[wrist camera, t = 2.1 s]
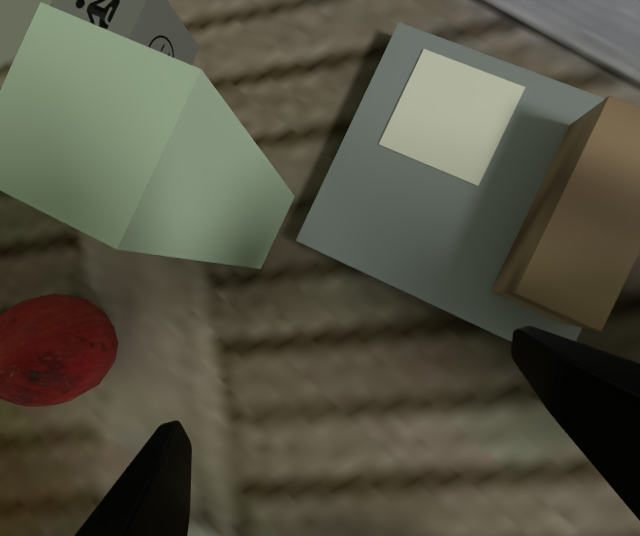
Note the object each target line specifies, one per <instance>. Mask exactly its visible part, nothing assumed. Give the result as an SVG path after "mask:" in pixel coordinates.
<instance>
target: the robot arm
mask: <svg viewBox="0 0 640 536" xmlns="http://www.w3.org/2000/svg"><path fill="white" fill-rule="evenodd" d="M511 355H512V358H513V360H514V362H515V363H516V365H517V366H518V368H519V369H520V371H521V372H522V374H523V375H524V377H525V378H526V379H527V381H528V382H529V384H530V385H531V387H532V388H533V390H534V391H535V393H536V394H537V396H538V397H539V398H540V400H541V401H542V403H543V404H544V406H545V407H546V408H547V410H548V411H549V412H550V414H551V415H552V416H553V417H554V419H555V420H556V421H557V422H558V423H559V425H560V426H561V427H562V428H563V429H564V431H565V432H566V433H567V434H568V435H569V437H570V438H571V439H572V440H573V441H574V443H575V444H576V445H577V446H578V447H579V449H580V450H581V451H582V452H583V453H584V455H585V456H586V457H587V458H588V459H589V461H590V462H591V463H592V464H593V465H594V467H595V468H596V469H597V470H598V471H599V473H600V474H601V475H602V476H603V477H604V479H605V480H606V481H607V482H608V483H609V485H610V486H611V487H612V488H613V489H614V491H615V492H616V493H617V494H618V495H619V497H620V498H621V499H622V500H623V501H624V503H625V504H626V505H627V506H628V507H629V509H630V510H631V511H632V512H633V513H634V515H635V516H636V517H637V518H638V519H639V521H640V364H639V363H636V362H633V361H630V360H628V359H625V358H622V357H619V356H616V355H613V354H611V353H608V352H605V351H602V350H599V349H596V348H593V347H591V346H588V345H585V344H582V343H579V342H576V341H573V340H571V339H568V338H565V337H562V336H559V335H556V334H554V333H551V332H548V331H545V330H542V329H539V328H536V327H534V326H524V327H520V328H517V329H515V330H514V331H513V336H512V347H511ZM191 460H192V447H191V442H190V440H189V438H188V436H187V434H186V432H185V430H184V428H183V427H182V425H181V423H180V422H179V421H176V420H175V421H171V422H168V423H164V424H162V425H160V426H159V427H158V428H157V430H156V431H155V432H154V434H153V435H152V436H151V438H150V439H149V440H148V441H147V443H146V444H145V445H144V447H143V448H142V449H141V450H140V452H139V453H138V454H137V456H136V457H135V458H134V459H133V461H132V462H131V463H130V465H129V466H128V467H127V468H126V470H125V471H124V472H123V474H122V475H121V476H120V478H119V479H118V480H117V481H116V483H115V484H114V485H113V487H112V488H111V489H110V490H109V492H108V493H107V494H106V496H105V497H104V498H103V499H102V501H101V502H100V503H99V505H98V506H97V507H96V509H95V510H94V511H93V512H92V514H91V515H90V516H89V518H88V519H87V520H86V521H85V523H84V524H83V525H82V527H81V528H80V529H79V530H78V532H77V533H76V534H75V536H187V533H188V526H189V516H190V494H191Z"/></svg>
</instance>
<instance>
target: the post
mask: <svg viewBox="0 0 640 536" xmlns="http://www.w3.org/2000/svg"><path fill="white" fill-rule="evenodd" d="M0 191H2V192H4V193H6V194H8V195H10V196H12V197H14V198H16V199H18V200H20V201H22V202H24V203H26V204H28V205H30V206H32V207H34V208H36V209H38V210H40V211H42V212H44V213H46V214H48V215H50V216H52V217H54V218H56V219H58V220H60V221H62V222H63V223H65V224H67V225H69V226H71V227H73V228H75V229H77V230H79V231H81V232H83V233H85V234H87V235H89V236H91V237H93V238H95V239H97V240H99V241H101V242H103V243H105V244H107V245H109V246H111V247H113V248H115V249H117V250H124V251H131V252H139V253H146V254H153V255H161V256H168V257H175V258H183V259H190V260H197V261H205V262H212V263H220V264H227V265H234V266H242V267H249V268H256V269H261V268H262V265H263V263H264V261H265V259H266V257H267V255H268V253H269V251H270V248H271V246H272V244H273V242H274V240H275V238H276V236H277V234H278V231H279V229H280V227H281V225H282V223H283V221H284V219H285V217H286V214H287V212H288V210H289V208H290V206H291V204H292V202H293V200H294V197H295V196H294V195H293V193H292V192H291V191H290V189H289V188H288V186H287V185H286V184H285V182H284V181H283V180H282V178H281V177H280V176H279V174H278V173H277V172H276V170H275V169H274V167H273V166H272V165H271V163H270V162H269V161H268V159H267V158H266V157H265V155H264V154H263V153H262V151H261V150H260V148H259V147H258V146H257V144H256V143H255V142H254V140H253V139H252V138H251V136H250V135H249V134H248V132H247V131H246V129H245V128H244V127H243V125H242V124H241V123H240V121H239V120H238V119H237V117H236V116H235V115H234V113H233V112H232V110H231V109H230V108H229V106H228V105H227V104H226V102H225V101H224V100H223V98H222V97H221V96H220V94H219V93H218V91H217V90H216V89H215V87H214V86H213V85H212V83H211V82H210V81H209V79H208V78H207V77H206V75H205V74H204V72H203V71H202V70H201V69H199V68H197V67H195V66H192V65H190V64H187V63H185V62H183V61H180V60H178V59H175V58H173V57H171V56H168V55H166V54H164V53H161V52H159V51H156V50H154V49H152V48H149V47H147V46H144V45H142V44H140V43H137V42H135V41H132V40H130V39H128V38H125V37H123V36H120V35H118V34H116V33H113V32H111V31H109V30H106V29H104V28H101V27H99V26H97V25H94V24H92V23H89V22H87V21H85V20H82V19H80V18H77V17H75V16H73V15H70V14H68V13H65V12H63V11H61V10H58V9H56V8H54V7H51V6H49V5H46V4H44V3H42V2H41V3H40V5H39V7H38V10H37V12H36V14H35V16H34V18H33V20H32V23H31V25H30V27H29V29H28V31H27V33H26V35H25V38H24V40H23V42H22V44H21V47H20V49H19V51H18V53H17V55H16V57H15V59H14V62H13V64H12V66H11V68H10V70H9V72H8V75H7V77H6V79H5V81H4V83H3V85H2V88H1V90H0Z"/></svg>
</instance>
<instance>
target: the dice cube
mask: <svg viewBox="0 0 640 536" xmlns="http://www.w3.org/2000/svg"><path fill="white" fill-rule="evenodd" d="M50 6H51V7H54V8H56V9H58V10H61V11H63V12H65V13H68V14H70V15H73V16H75V17H77V18H80V19H82V20H85V21H87V22H89V23H92V24H94V25H97V26H99V27H101V28H104V29H106V30H109V31H111V32H113V33H116V34H118V35H120V36H123V37H125V38H128V39H130V40H132V41H135V42H137V43H140V44H142V45H144V46H147V47H149V48H152V49H154V50H156V51H159V52H161V53H164V54H166V55H168V56H171V57H173V58H175V59H178V60H180V61H183V62H185V63H187V64H190V65H191V64H192V62H193V60H194V58H195V56H196V53H197V51H198V49H199V47H198V45H197V44H196V42H195V41H194V39H193V38H192V36H191V35H190V33H189V32H188V30H187V29H186V27H185V26H184V24H183V23H182V22H181V20H180V19H179V17H178V16H177V14H176V13H175V11H174V10H173V8H172V7H171V5H170V4H169V2H168V1H167V0H52V2H51V5H50Z"/></svg>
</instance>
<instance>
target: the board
mask: <svg viewBox="0 0 640 536" xmlns="http://www.w3.org/2000/svg"><path fill="white" fill-rule="evenodd" d="M603 100H604V98H602V97H599V96H596V95H594V94H591V93H588V92H586V91H583V90H580V89H577V88H575V87H572V86H569V85H567V84H564V83H561V82H559V81H556V80H553V79H551V78H548V77H545V76H542V75H540V74H537V73H534V72H532V71H529V70H526V69H524V68H521V67H518V66H516V65H513V64H510V63H508V62H505V61H502V60H499V59H497V58H494V57H491V56H489V55H486V54H483V53H481V52H478V51H475V50H473V49H470V48H467V47H464V46H462V45H459V44H456V43H454V42H451V41H448V40H446V39H443V38H440V37H438V36H435V35H432V34H430V33H427V32H424V31H421V30H419V29H416V28H413V27H411V26H408V25H405V24H403V23H400V22H399V23H398V25H397V27H396V29H395V31H394V33H393V35H392V37H391V40H390V42H389V44H388V46H387V48H386V50H385V52H384V54H383V57H382V59H381V61H380V63H379V65H378V67H377V69H376V71H375V73H374V76H373V78H372V80H371V82H370V84H369V86H368V88H367V90H366V93H365V95H364V97H363V99H362V101H361V103H360V105H359V107H358V110H357V112H356V114H355V116H354V118H353V120H352V122H351V124H350V126H349V129H348V131H347V133H346V135H345V137H344V139H343V141H342V143H341V146H340V148H339V150H338V152H337V154H336V156H335V158H334V160H333V163H332V165H331V167H330V169H329V171H328V173H327V175H326V177H325V179H324V182H323V184H322V186H321V188H320V190H319V192H318V194H317V196H316V199H315V201H314V203H313V205H312V207H311V209H310V211H309V213H308V216H307V218H306V220H305V222H304V224H303V226H302V228H301V230H300V232H299V235H298V237H297V239H296V241H297V242H299V243H301V244H303V245H305V246H307V247H309V248H311V249H313V250H316V251H318V252H320V253H322V254H324V255H326V256H328V257H330V258H333V259H335V260H337V261H339V262H341V263H343V264H345V265H348V266H350V267H352V268H354V269H356V270H358V271H360V272H363V273H365V274H367V275H369V276H371V277H373V278H375V279H377V280H380V281H382V282H384V283H386V284H388V285H390V286H392V287H395V288H397V289H399V290H401V291H403V292H405V293H407V294H409V295H412V296H414V297H416V298H418V299H420V300H422V301H424V302H427V303H429V304H431V305H433V306H435V307H437V308H439V309H442V310H444V311H446V312H448V313H450V314H452V315H454V316H456V317H459V318H461V319H463V320H465V321H467V322H469V323H471V324H474V325H476V326H478V327H480V328H482V329H484V330H486V331H489V332H491V333H493V334H495V335H497V336H499V337H501V338H503V339H506V340H508V341H510V342H512V336H513V331H514V330H515V329H517V328H520V327H524V326H534V327H536V328H539V329H542V330H545V331H548V332H551V333H554V334H556V335H559V336H562V337H565V338H568V339H571V340H573V341H576V340H577V338H578V336H579V334H580V332H581V330H582V328H581V327H576V326H571V325H566V324H562V323H559V322H557V321H555V320H553V319H551V318H548V317H546V316H544V315H542V314H540V313H537V312H535V311H533V310H531V309H529V308H526V307H524V306H522V305H520V304H518V303H515V302H513V301H511V300H509V299H506V298H504V297H502V296H500V295H498V294H495V293H493V292H491V289H492V287H493V285H494V283H495V281H496V278H497V276H498V274H499V272H500V270H501V268H502V266H503V264H504V262H505V260H506V258H507V255H508V253H509V251H510V249H511V247H512V245H513V243H514V241H515V239H516V237H517V235H518V232H519V230H520V228H521V226H522V224H523V222H524V220H525V218H526V216H527V214H528V212H529V209H530V207H531V205H532V203H533V201H534V199H535V197H536V195H537V193H538V191H539V189H540V186H541V184H542V182H543V180H544V178H545V176H546V174H547V172H548V170H549V168H550V166H551V163H552V161H553V159H554V157H555V155H556V153H557V151H558V149H559V147H560V145H561V143H562V140H563V138H564V136H565V134H566V132H567V130H568V128H569V126H570V125H571V124H572V123H573V122H575V121H576V120H577V119H579V118H580V117H581V116H583V115H584V114H585V113H587V112H588V111H589V110H591V109H592V108H593V107H595V106H596V105H598V104H599V103H600V102H602V101H603Z"/></svg>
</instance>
